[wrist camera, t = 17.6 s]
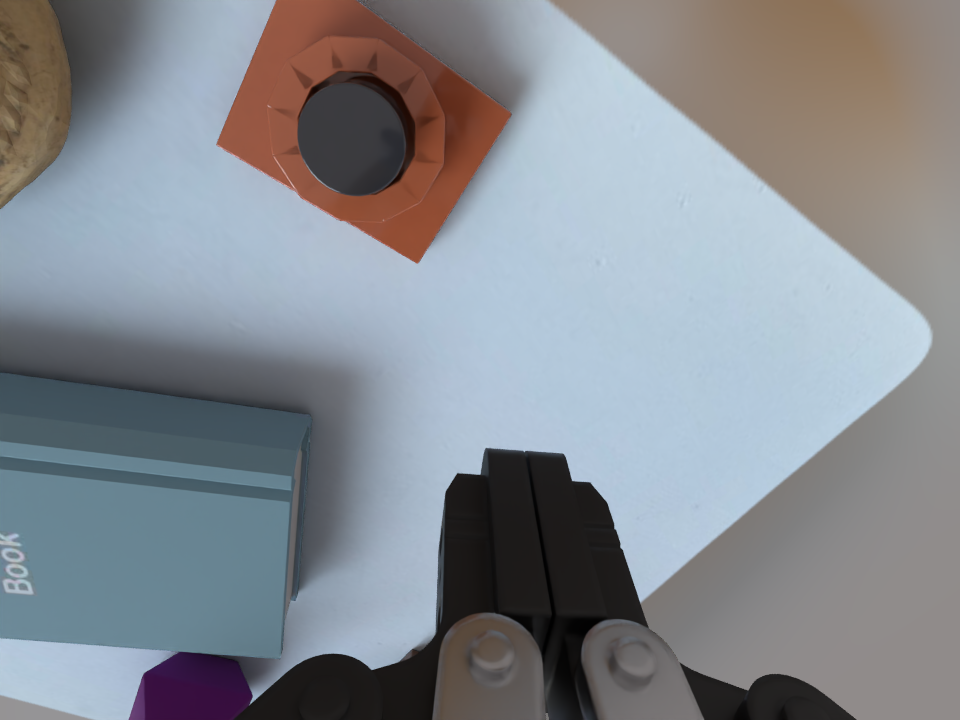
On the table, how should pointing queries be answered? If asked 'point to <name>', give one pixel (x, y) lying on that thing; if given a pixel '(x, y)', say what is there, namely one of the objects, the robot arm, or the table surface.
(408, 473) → the table surface
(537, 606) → the robot arm
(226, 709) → the perfume bottle
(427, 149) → the button base
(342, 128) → the dark grey knob
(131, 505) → the book
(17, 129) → the oil lamp
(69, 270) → the table surface
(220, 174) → the table surface
